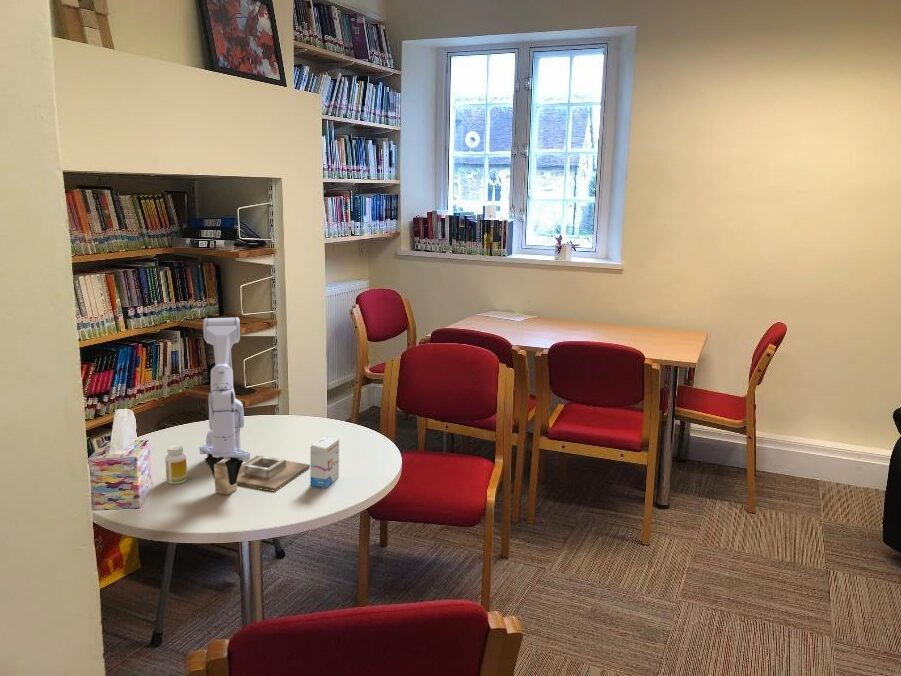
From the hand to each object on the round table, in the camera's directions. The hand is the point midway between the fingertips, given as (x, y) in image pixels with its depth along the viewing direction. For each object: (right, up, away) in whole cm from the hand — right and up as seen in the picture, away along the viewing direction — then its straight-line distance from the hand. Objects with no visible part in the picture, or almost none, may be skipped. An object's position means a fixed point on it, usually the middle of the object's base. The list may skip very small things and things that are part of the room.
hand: (225, 482), depth 197 cm
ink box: (+25, -2, +8) cm, 27 cm away
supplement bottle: (-16, -1, +7) cm, 17 cm away
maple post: (0, -2, +1) cm, 2 cm away
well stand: (+8, 0, +12) cm, 15 cm away
